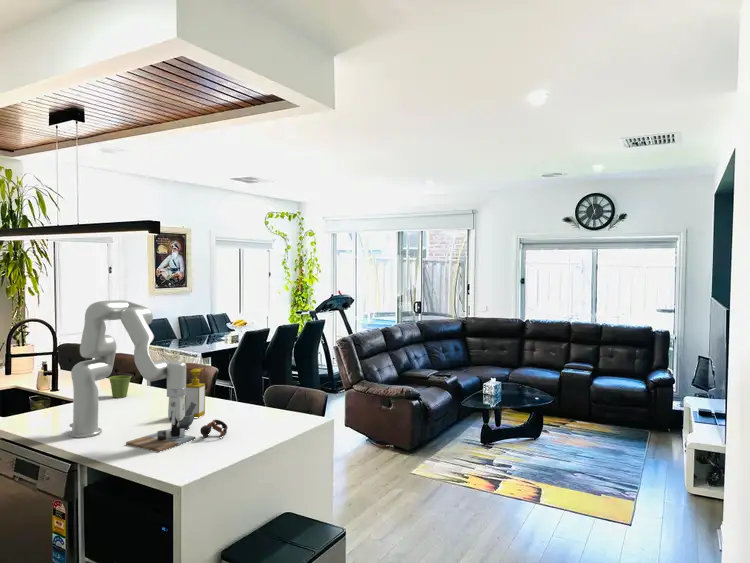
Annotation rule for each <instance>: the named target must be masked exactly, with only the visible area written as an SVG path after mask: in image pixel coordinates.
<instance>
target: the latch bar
mask: <svg viewBox="0 0 750 563" xmlns="http://www.w3.org/2000/svg"><path fill="white" fill-rule="evenodd" d="M156 433H157V439H158V440H163V439H168V438H177V437H171V429H168V430H167V429H166V430H164V429H163V430H162V429H161V430H157V432H156ZM185 435H186V431H185V429H184V428H183V429H180V436H179V437H185Z"/></svg>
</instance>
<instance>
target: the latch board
mask: <svg viewBox="0 0 750 563" xmlns="http://www.w3.org/2000/svg"><path fill="white" fill-rule="evenodd" d="M194 439H196V436H192V435H188V434H185V437H177V438H168V439H163V440H158V439H157V432H155V433H154V432H153V433H151V434H148V435H145V436H141V437H138V438H134V439H131V440H129V441H126V442H125V445H126V446H129V447H133V448H137V447H138V449H142V448H143V449H144V450H146V449H148V451H151V450H152V452H155V451H157V452H156V453H161V452H160V451H162V452H164V451H163V450H165V451H167V450H166V449H168V450H170V449H172V447H173V448H176V447H179V446H182V445H184V444H183V443H185V444H187V443H186V442H188V443H190V442H189V441H191V440H193V441H195V440H194ZM191 442H192V441H191ZM181 444H182V445H181ZM178 445H179V446H178ZM175 446H176V447H175ZM169 448H170V449H169ZM143 449H142V450H143Z"/></svg>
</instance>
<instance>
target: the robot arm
mask: <svg viewBox="0 0 750 563" xmlns="http://www.w3.org/2000/svg"><path fill="white" fill-rule="evenodd" d="M153 319H154V316H153V312H152V311H151V310H150V309H149V308H148V307H146V306H144V305H141V304H137V303H135V302H131V301H128V300H123V299H122V300H120V299H119V300H115V299H114V300H100V301H96V302H93V303H91V304H89V305H88V307H87V309H86V310H85V313H84V326H83V329H82V330H83V331H82V335H81V340H80V346H79V355H80V356H81V357H82V358H84V359H86V360H83V361H79V362H78V363H76V364H75V365H74V366H73V367H72V368H71V373H70V374H71V375H70V376H71V377H70V378H71V381H72V388H73V390H72V391H73V404H72V406H73V409H72V411H73V412H72V413H73V414H72V418H73V419H72V423H70V424H69V427H70V428H72V429H71V430H69V432H68V436H69V437H70V438H77V439H79V438H88V437H94V436H97V435H100V434H101V433H102V432H103V431H102V430H103V428H100V427H99V388H98V386H97V383H96V382H97V381H101V380H105V379H107V378H109V376H111V374H112V371H113V368H114V364H115V363H114V362H115V360H116V359H115V357H116V354H117V343H116V340H115V338H114V337H113V336H111V335H110V334H106V331H107V329H106V328H107V327H106V323H105V321H117V320H118V321H119V320H120V321H121V323H122V326H123V327H124V329H125V331H126V332H127V335H128V336H129V339H131V342H132V344H133V347H134V350H133V360H134V363H135V366H136V368H137V370H138V371H139V372H138V373H140V375H141V376H142V377H143V379H144V380H146V381H147V382H155V381H159V380H163V379H166V397H167V398H168V410H167V412H168V413H167V417H168V419H167V420H168V422H170V424H171V426H170V427H171V429H170V430H171V437H179V436H180V421H181V420H182V419H183V418H184V417H185V396H186V385H187V364H186V363H185V362H183V361H171V360H167V359H164V360H159V361H153V359H152V357H151V354H150V353H149V347H150V344H151V343H152V342H153V341H154V338H155V335H154V333H153V331H152V328H150V326H149V325H151V324H152V322H153ZM87 359H88V360H87Z"/></svg>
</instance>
